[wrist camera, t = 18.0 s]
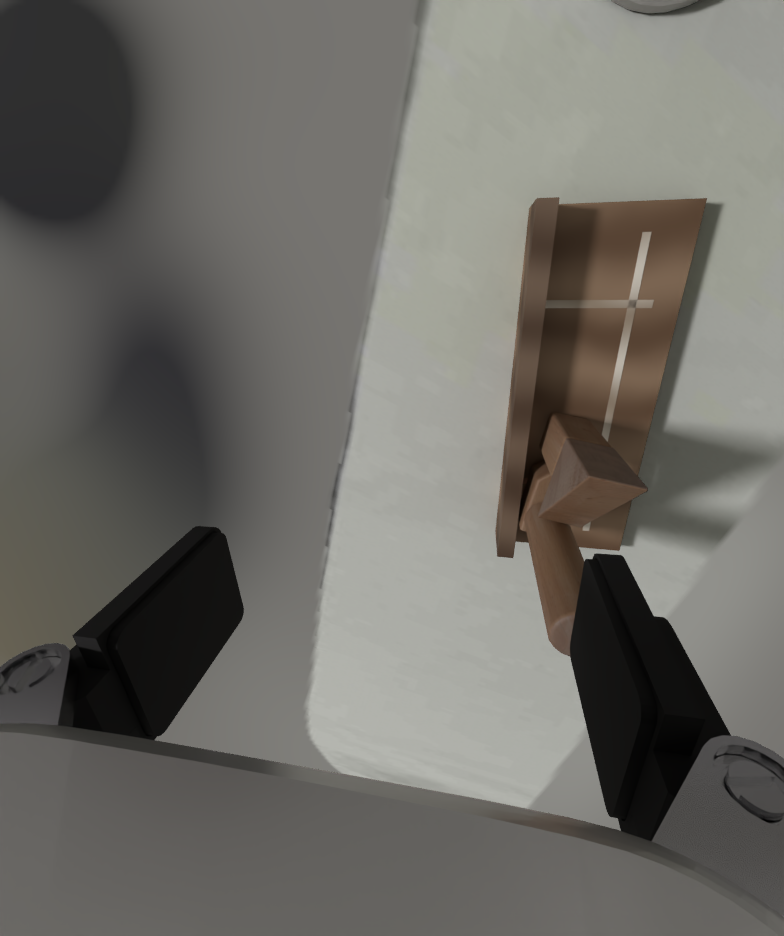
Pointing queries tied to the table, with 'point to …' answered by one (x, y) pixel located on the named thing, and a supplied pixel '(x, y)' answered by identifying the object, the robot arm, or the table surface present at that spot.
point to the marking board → (593, 336)
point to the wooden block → (569, 511)
